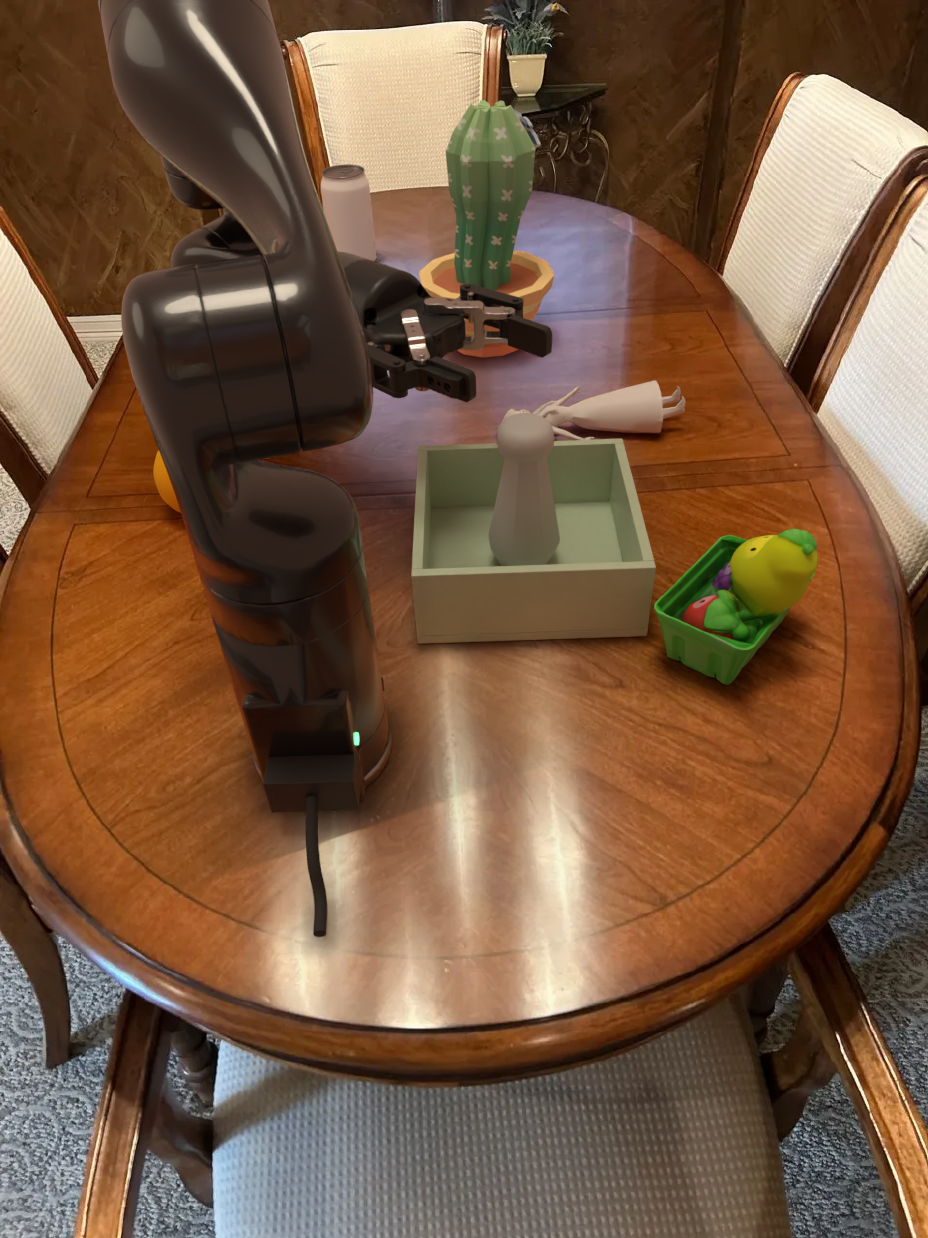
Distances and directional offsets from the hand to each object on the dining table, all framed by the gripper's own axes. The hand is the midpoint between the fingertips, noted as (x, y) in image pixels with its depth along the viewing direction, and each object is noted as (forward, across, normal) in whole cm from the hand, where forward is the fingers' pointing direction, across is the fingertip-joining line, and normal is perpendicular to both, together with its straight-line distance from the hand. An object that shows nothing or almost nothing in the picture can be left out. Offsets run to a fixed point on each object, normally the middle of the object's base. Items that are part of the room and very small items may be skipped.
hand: (512, 364), depth 65 cm
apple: (-28, -11, +18) cm, 35 cm away
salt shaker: (+1, 0, +17) cm, 17 cm away
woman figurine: (-7, +22, +18) cm, 29 cm away
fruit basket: (+19, +3, +18) cm, 26 cm away
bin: (+1, 0, +18) cm, 18 cm away
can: (-60, +38, +18) cm, 73 cm away
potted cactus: (-29, +30, +18) cm, 46 cm away
